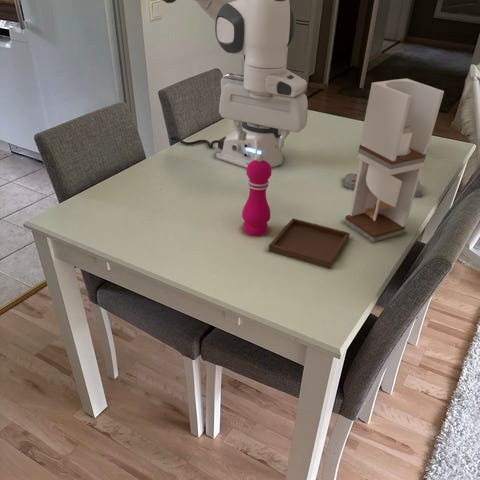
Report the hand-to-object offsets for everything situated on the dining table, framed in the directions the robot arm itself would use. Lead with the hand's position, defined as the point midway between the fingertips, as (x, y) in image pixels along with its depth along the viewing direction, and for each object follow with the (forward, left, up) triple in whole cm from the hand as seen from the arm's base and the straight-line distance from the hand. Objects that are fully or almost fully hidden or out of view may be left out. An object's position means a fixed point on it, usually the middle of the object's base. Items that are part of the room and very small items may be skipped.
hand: (260, 143), depth 112 cm
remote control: (+23, +44, -23) cm, 55 cm away
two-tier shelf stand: (+27, +17, -23) cm, 39 cm away
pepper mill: (0, 0, -23) cm, 23 cm away
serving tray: (+15, 0, -22) cm, 27 cm away
